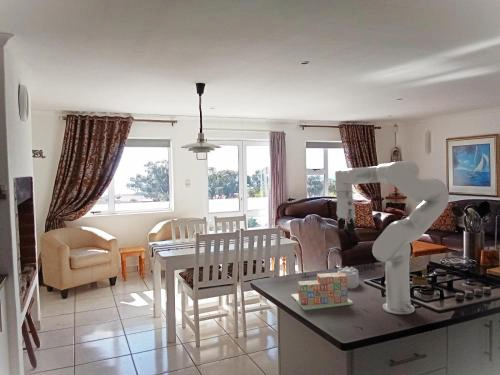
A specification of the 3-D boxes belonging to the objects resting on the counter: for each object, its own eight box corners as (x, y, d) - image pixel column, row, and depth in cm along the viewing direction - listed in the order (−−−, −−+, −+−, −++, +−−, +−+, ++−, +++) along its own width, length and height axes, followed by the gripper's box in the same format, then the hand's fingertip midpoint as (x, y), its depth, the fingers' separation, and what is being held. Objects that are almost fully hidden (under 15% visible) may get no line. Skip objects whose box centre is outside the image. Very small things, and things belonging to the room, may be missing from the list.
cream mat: (343, 296, 180) (342, 294, 180) (296, 302, 176) (296, 300, 176) (335, 291, 189) (335, 289, 189) (291, 296, 185) (291, 294, 185)
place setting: (397, 285, 194) (396, 274, 194) (423, 278, 203) (422, 268, 203) (427, 294, 178) (426, 282, 178) (453, 286, 188) (453, 275, 187)
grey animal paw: (335, 286, 196) (334, 270, 195) (342, 280, 207) (341, 264, 207) (355, 289, 191) (354, 272, 190) (361, 281, 202) (360, 265, 202)
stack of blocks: (300, 305, 168) (299, 278, 168) (298, 301, 175) (297, 274, 174) (348, 302, 169) (346, 275, 168) (344, 298, 175) (343, 271, 175)
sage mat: (353, 304, 170) (352, 301, 170) (304, 310, 165) (304, 307, 165) (344, 297, 179) (344, 295, 179) (297, 303, 174) (297, 301, 174)
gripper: (360, 194, 173) (362, 231, 174) (343, 193, 190) (344, 227, 190) (345, 196, 171) (347, 233, 172) (329, 194, 188) (331, 228, 189)
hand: (346, 230), depth 181 cm, fingers open, 9 cm apart
